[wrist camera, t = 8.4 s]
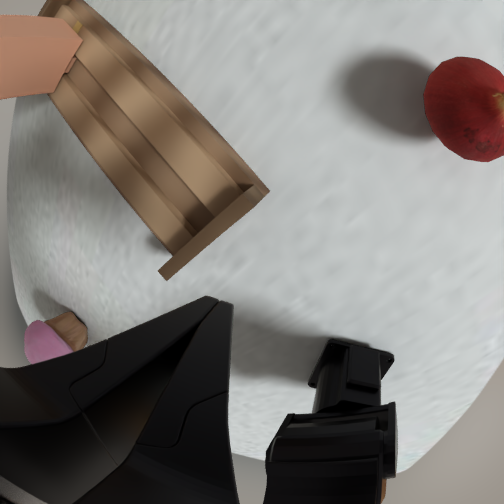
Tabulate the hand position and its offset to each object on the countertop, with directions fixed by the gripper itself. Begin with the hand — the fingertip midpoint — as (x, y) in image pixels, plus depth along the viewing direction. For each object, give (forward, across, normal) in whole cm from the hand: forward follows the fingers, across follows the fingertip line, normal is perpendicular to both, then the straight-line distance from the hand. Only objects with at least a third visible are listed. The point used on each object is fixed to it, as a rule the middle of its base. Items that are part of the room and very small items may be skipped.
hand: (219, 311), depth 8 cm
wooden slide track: (+13, +15, -5) cm, 21 cm away
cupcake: (+13, +25, +24) cm, 37 cm away
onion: (+13, -9, -9) cm, 18 cm away
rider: (+11, +22, -10) cm, 27 cm away
